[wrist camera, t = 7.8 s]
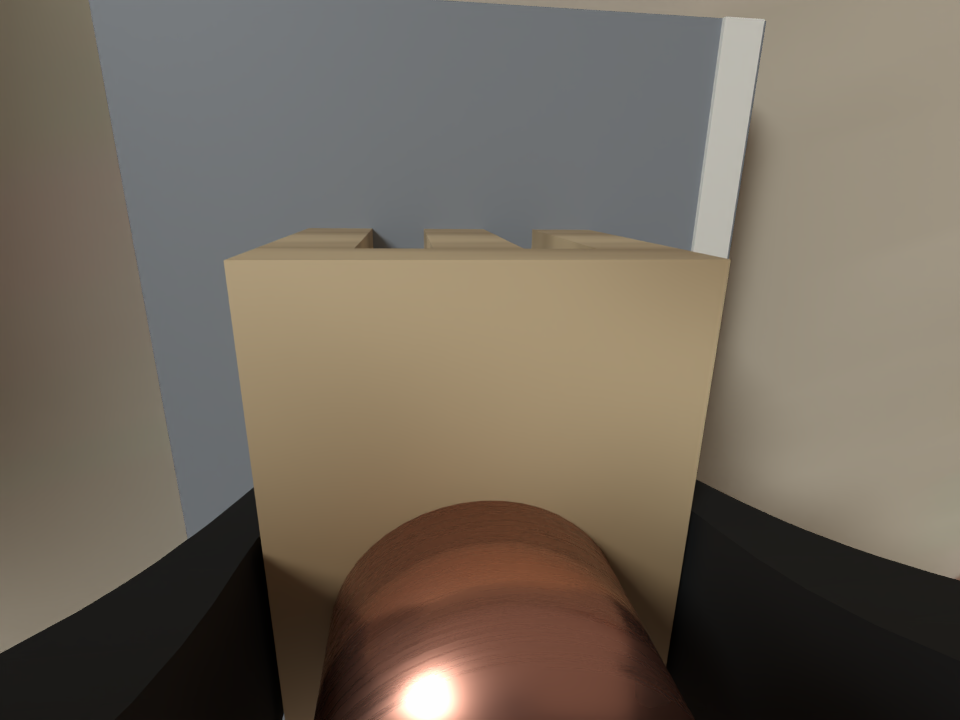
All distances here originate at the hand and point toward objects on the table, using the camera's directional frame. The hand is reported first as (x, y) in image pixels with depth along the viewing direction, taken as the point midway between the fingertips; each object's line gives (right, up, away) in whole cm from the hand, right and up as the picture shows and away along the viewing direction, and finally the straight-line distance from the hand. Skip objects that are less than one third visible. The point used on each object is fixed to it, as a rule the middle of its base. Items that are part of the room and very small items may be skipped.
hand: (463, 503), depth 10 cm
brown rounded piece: (0, -1, -3) cm, 3 cm away
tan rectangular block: (0, +1, +2) cm, 2 cm away
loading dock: (-1, +1, +4) cm, 4 cm away
